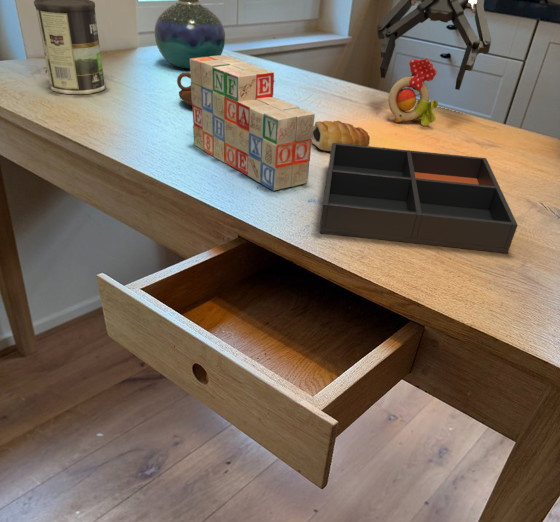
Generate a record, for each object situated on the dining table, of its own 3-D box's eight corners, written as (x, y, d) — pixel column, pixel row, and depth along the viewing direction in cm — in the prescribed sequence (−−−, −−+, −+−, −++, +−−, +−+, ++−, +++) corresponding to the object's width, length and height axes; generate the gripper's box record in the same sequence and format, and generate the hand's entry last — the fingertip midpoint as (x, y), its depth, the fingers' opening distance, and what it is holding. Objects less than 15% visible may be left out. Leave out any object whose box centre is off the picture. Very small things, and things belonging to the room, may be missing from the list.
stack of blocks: (309, 184, 79) (318, 88, 71) (273, 192, 76) (278, 93, 68) (226, 138, 91) (225, 52, 83) (192, 144, 88) (188, 56, 80)
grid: (479, 182, 83) (486, 158, 81) (507, 253, 66) (517, 224, 64) (329, 167, 84) (332, 142, 82) (319, 232, 67) (322, 204, 65)
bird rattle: (398, 139, 103) (448, 121, 101) (384, 76, 96) (437, 55, 94) (393, 129, 108) (440, 111, 106) (379, 68, 101) (429, 48, 99)
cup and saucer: (190, 116, 99) (189, 78, 95) (171, 98, 107) (169, 62, 103) (253, 112, 103) (254, 75, 99) (231, 95, 111) (231, 60, 107)
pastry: (360, 138, 95) (363, 114, 93) (375, 153, 90) (379, 128, 88) (307, 140, 93) (309, 115, 91) (319, 154, 88) (322, 129, 86)
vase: (198, 56, 136) (196, -10, 128) (239, 69, 128) (239, 0, 119) (143, 62, 128) (137, -8, 119) (182, 77, 120) (179, 3, 111)
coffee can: (105, 81, 114) (94, -2, 105) (106, 95, 106) (94, 6, 97) (51, 80, 112) (35, -5, 102) (48, 95, 104) (31, 4, 95)
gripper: (521, -6, 102) (487, 102, 101) (387, -21, 108) (354, 81, 107) (530, -41, 95) (494, 76, 93) (386, -55, 101) (350, 54, 100)
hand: (419, 79), depth 100 cm, fingers open, 13 cm apart
